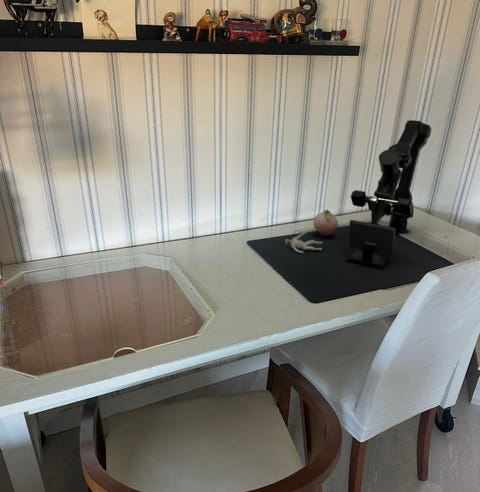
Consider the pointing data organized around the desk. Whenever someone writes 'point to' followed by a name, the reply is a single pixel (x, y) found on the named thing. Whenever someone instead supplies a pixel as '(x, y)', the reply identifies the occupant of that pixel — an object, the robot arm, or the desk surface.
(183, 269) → the desk surface
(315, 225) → the decorative fruit
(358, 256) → the monitor stand
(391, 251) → the monitor screen
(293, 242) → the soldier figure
